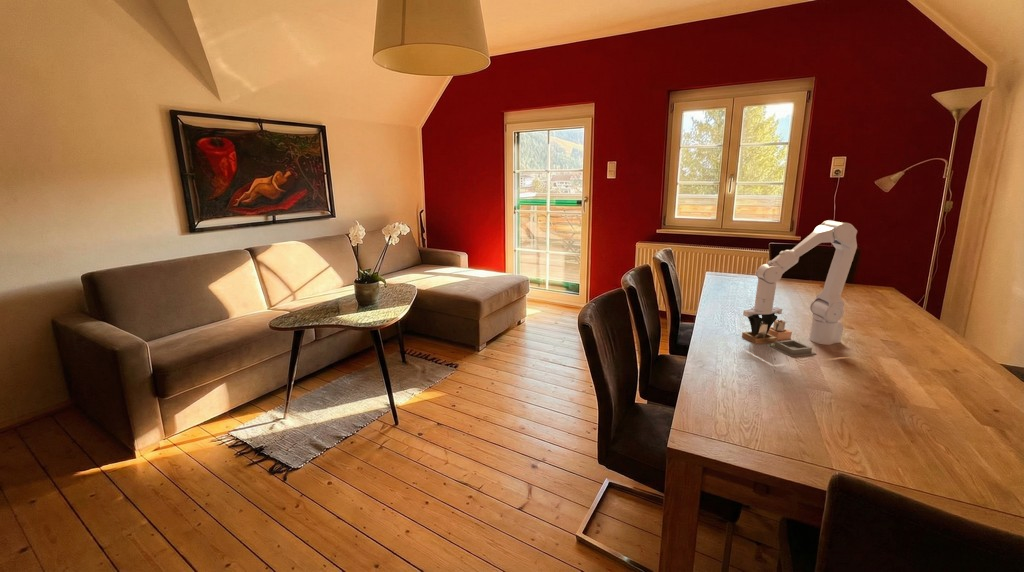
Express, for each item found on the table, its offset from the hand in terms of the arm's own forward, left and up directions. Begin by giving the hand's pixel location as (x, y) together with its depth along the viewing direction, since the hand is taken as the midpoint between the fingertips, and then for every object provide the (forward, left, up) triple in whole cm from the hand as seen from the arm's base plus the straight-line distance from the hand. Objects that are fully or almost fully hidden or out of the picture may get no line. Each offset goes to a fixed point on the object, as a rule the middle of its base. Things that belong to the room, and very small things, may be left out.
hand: (759, 333), depth 159 cm
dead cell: (-9, -1, -2) cm, 9 cm away
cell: (0, 0, -2) cm, 2 cm away
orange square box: (-9, -1, -3) cm, 10 cm away
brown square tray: (0, 0, -3) cm, 3 cm away
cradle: (-4, +11, -3) cm, 12 cm away
